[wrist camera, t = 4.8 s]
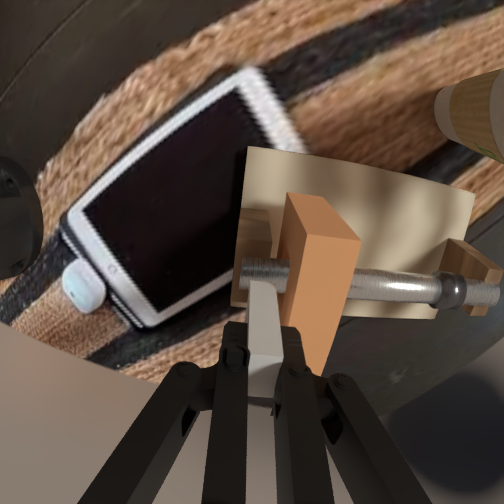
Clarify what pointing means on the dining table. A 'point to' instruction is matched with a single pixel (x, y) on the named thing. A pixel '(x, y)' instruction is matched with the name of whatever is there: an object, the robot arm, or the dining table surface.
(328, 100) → the dining table surface
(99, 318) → the dining table surface
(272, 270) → the pipe
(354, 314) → the wooden rod stand
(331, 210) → the orange square ring
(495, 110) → the coffee cup
